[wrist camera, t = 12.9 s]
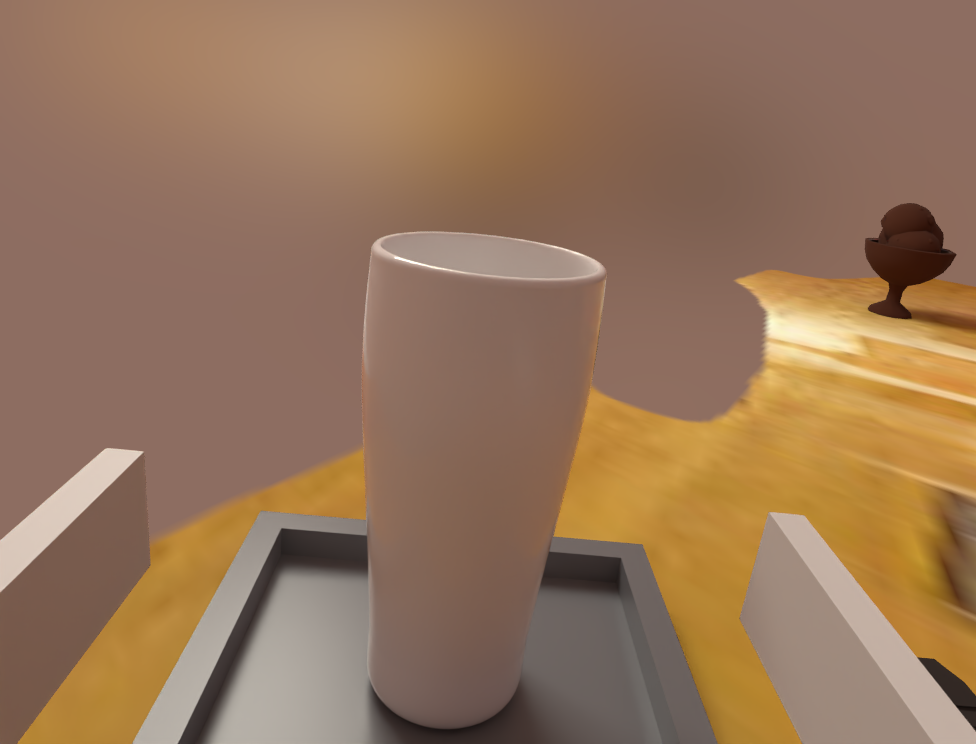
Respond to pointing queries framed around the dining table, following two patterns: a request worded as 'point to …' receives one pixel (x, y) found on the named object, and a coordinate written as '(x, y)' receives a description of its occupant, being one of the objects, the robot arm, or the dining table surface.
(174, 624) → the dining table surface
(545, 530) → the drinking glass
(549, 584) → the serving tray
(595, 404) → the dining table surface
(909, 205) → the ice cream bowl
